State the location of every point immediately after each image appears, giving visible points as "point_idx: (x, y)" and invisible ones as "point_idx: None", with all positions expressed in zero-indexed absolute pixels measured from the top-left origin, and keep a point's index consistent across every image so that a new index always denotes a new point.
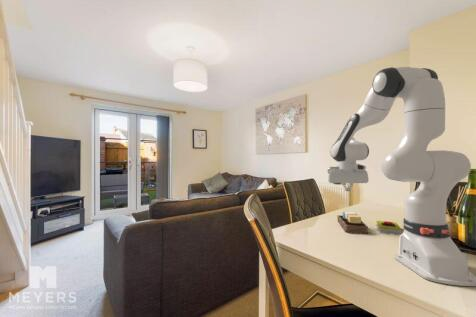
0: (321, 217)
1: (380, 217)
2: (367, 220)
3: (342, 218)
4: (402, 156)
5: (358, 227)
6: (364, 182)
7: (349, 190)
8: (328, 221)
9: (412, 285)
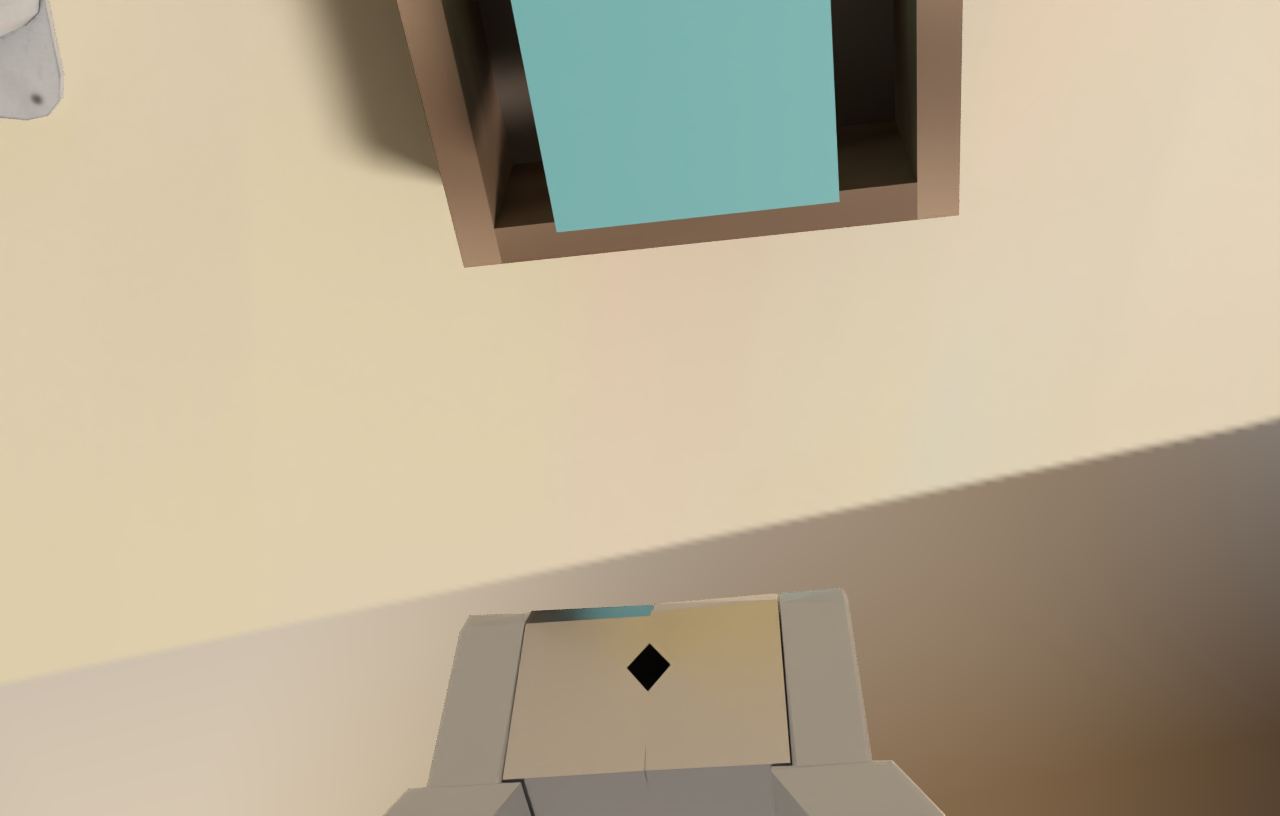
0: (1259, 372)
1: (42, 634)
2: (256, 384)
3: None
4: None
5: None
6: None
7: (570, 627)
8: (1182, 54)
9: None
